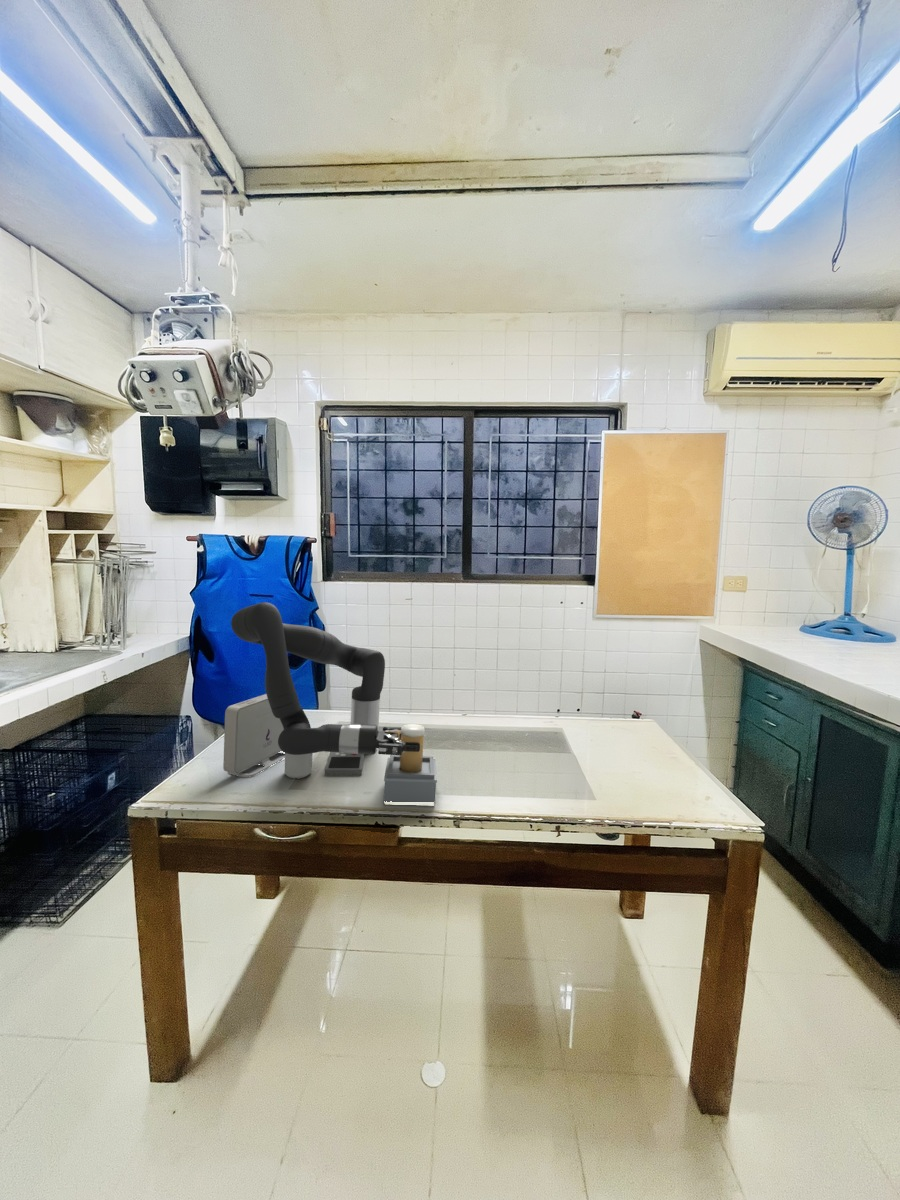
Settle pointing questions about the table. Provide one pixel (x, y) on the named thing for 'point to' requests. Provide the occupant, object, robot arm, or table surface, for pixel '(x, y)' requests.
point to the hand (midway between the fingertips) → (419, 741)
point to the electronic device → (344, 764)
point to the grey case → (410, 781)
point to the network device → (250, 736)
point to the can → (298, 765)
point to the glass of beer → (412, 760)
